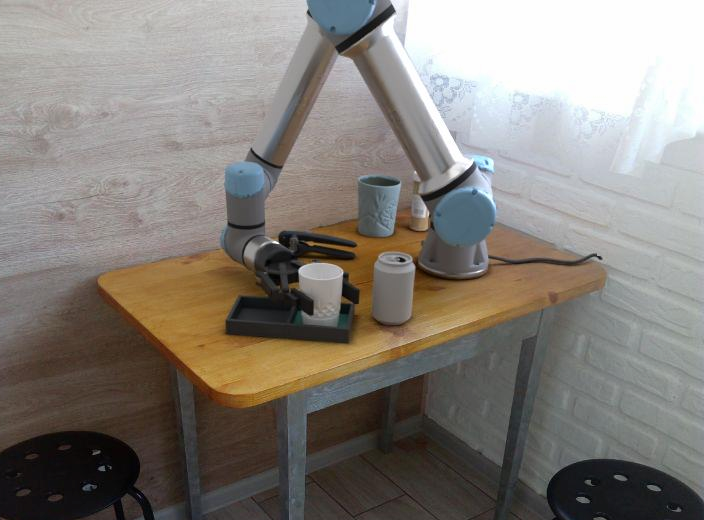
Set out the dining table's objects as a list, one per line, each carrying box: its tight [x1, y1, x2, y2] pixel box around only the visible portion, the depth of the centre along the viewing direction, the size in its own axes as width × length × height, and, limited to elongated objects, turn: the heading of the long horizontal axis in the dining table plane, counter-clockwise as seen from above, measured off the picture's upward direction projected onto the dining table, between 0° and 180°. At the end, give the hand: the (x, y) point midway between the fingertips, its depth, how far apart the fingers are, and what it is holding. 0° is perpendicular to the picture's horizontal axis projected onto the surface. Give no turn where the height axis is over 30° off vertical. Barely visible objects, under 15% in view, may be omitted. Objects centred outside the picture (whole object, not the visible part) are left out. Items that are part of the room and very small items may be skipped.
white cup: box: [298, 262, 344, 327], centre depth 138 cm, size 8×8×10 cm
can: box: [371, 251, 416, 326], centre depth 142 cm, size 8×8×12 cm
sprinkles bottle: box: [409, 170, 430, 232], centre depth 183 cm, size 5×5×14 cm
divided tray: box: [224, 294, 356, 344], centre depth 141 cm, size 22×11×3 cm, turn 84°
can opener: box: [277, 229, 358, 260], centre depth 169 cm, size 18×7×6 cm, turn 83°
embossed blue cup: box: [357, 173, 402, 238], centre depth 181 cm, size 10×10×12 cm
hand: (335, 302), depth 134 cm, fingers open, 9 cm apart
